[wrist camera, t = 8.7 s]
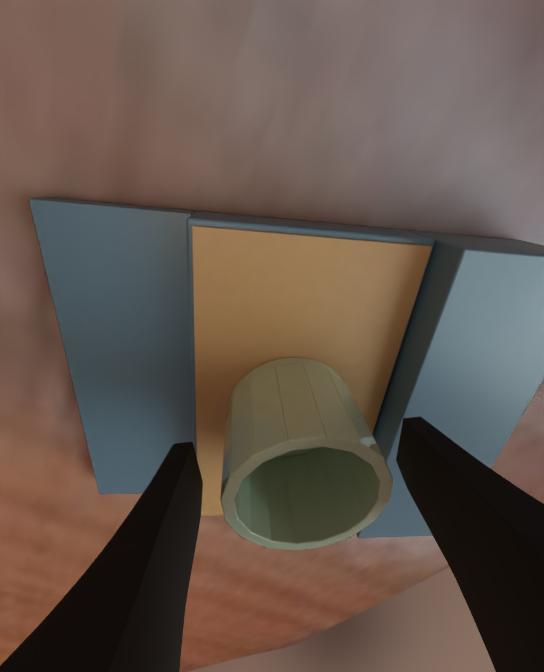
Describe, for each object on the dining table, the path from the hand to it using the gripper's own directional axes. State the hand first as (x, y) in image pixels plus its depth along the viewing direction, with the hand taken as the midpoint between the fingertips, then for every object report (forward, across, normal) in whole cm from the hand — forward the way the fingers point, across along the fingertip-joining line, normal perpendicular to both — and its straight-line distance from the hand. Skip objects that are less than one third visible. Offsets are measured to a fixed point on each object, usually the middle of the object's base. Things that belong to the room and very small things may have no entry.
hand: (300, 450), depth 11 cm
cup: (+2, 0, 0) cm, 2 cm away
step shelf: (+5, 0, 0) cm, 5 cm away
